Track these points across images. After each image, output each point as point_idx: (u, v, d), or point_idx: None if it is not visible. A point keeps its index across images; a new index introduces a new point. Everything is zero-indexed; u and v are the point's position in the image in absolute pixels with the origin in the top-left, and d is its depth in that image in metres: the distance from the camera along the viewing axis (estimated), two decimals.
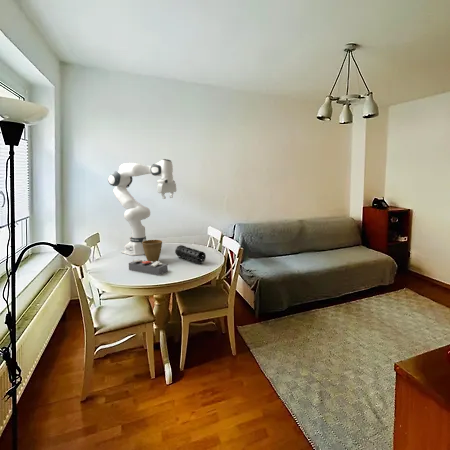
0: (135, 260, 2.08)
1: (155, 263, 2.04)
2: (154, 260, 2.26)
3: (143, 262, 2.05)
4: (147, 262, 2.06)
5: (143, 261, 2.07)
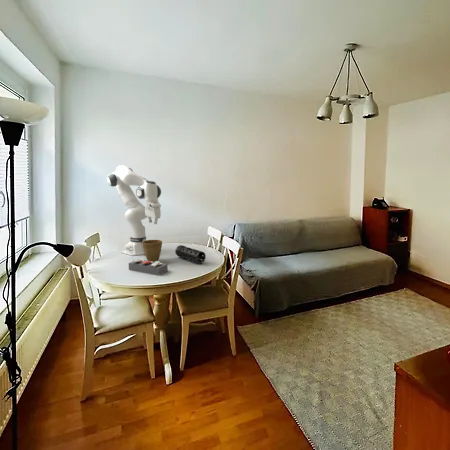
0: (135, 260, 2.08)
1: (155, 263, 2.04)
2: (154, 260, 2.26)
3: (143, 262, 2.05)
4: (147, 262, 2.06)
5: (143, 261, 2.07)
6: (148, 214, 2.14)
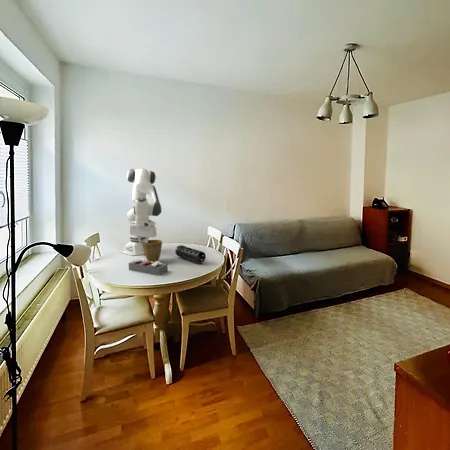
0: (135, 260, 2.08)
1: (155, 263, 2.04)
2: (154, 260, 2.26)
3: (143, 262, 2.05)
4: (147, 262, 2.06)
5: (143, 261, 2.07)
6: (137, 233, 2.01)
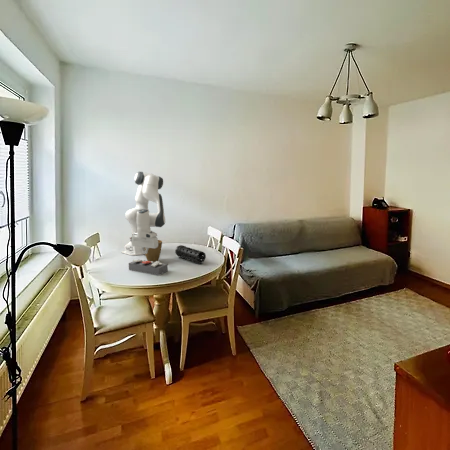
0: (135, 260, 2.08)
1: (155, 263, 2.04)
2: (154, 260, 2.26)
3: (143, 262, 2.05)
4: (147, 262, 2.06)
5: (143, 261, 2.07)
6: (139, 244, 2.03)
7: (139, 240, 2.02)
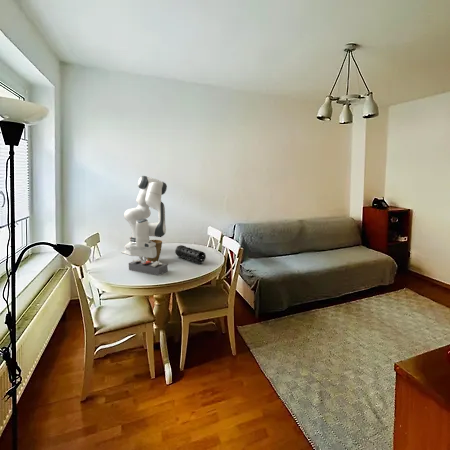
0: (135, 260, 2.08)
1: (155, 263, 2.04)
2: (154, 260, 2.26)
3: None
4: (147, 262, 2.06)
5: None
6: (137, 253, 2.03)
7: (138, 249, 2.02)
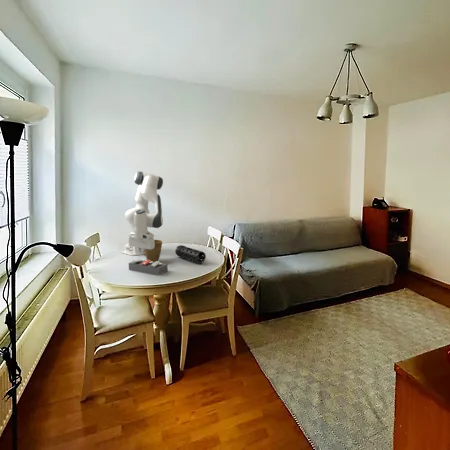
0: (135, 260, 2.08)
1: (155, 263, 2.04)
2: (154, 260, 2.26)
3: (143, 264, 2.05)
4: (147, 263, 2.06)
5: (143, 262, 2.06)
6: (136, 244, 2.03)
7: (136, 240, 2.02)
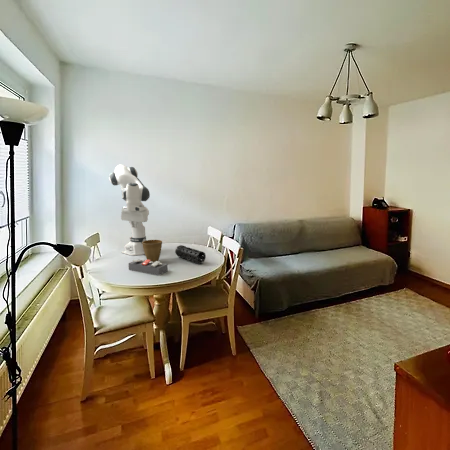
0: (135, 260, 2.08)
1: (155, 263, 2.04)
2: (154, 260, 2.26)
3: (143, 264, 2.05)
4: (147, 263, 2.06)
5: (143, 262, 2.06)
6: (128, 218, 2.01)
7: (128, 214, 2.00)
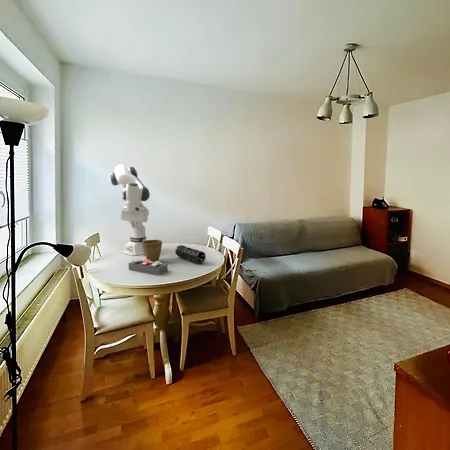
0: (135, 260, 2.08)
1: (155, 263, 2.04)
2: (154, 260, 2.26)
3: (143, 264, 2.05)
4: (147, 263, 2.06)
5: (143, 262, 2.06)
6: (128, 218, 2.01)
7: (128, 214, 2.00)
